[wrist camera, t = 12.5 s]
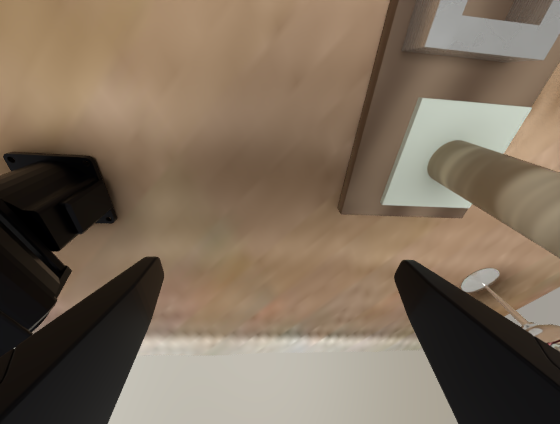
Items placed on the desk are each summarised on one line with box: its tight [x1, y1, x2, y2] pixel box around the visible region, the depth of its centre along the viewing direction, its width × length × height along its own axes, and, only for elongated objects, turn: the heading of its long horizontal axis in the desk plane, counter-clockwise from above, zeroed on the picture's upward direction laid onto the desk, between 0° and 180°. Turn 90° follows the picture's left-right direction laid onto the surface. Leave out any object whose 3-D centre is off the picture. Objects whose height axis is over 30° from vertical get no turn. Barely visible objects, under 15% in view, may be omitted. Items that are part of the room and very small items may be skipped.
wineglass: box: [461, 268, 560, 351], centre depth 25 cm, size 7×7×12 cm
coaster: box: [380, 97, 532, 208], centre depth 19 cm, size 9×9×1 cm
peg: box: [427, 140, 560, 258], centre depth 12 cm, size 5×5×14 cm
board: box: [338, 0, 560, 218], centre depth 17 cm, size 13×22×1 cm, turn 176°
